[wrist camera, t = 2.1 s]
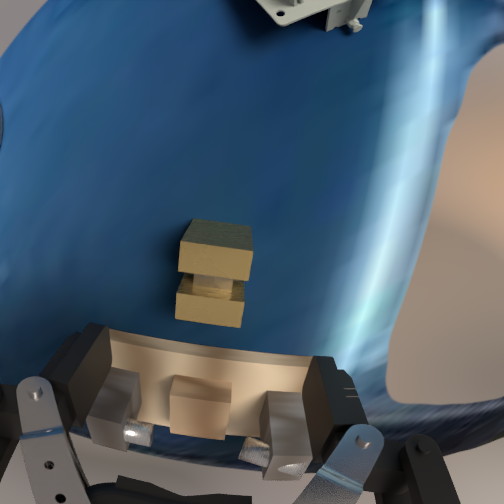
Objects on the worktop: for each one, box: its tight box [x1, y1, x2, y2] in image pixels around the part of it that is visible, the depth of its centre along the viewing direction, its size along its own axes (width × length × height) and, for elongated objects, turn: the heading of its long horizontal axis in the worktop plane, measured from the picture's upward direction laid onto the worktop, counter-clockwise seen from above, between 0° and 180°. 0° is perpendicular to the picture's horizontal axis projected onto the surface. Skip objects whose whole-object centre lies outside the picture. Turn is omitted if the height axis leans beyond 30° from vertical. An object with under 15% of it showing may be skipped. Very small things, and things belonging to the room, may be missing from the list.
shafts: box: [124, 418, 307, 477], centre depth 20 cm, size 17×2×4 cm, turn 81°
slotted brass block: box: [175, 219, 253, 328], centre depth 21 cm, size 5×4×5 cm
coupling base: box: [86, 329, 313, 480], centre depth 23 cm, size 18×10×8 cm, turn 81°
